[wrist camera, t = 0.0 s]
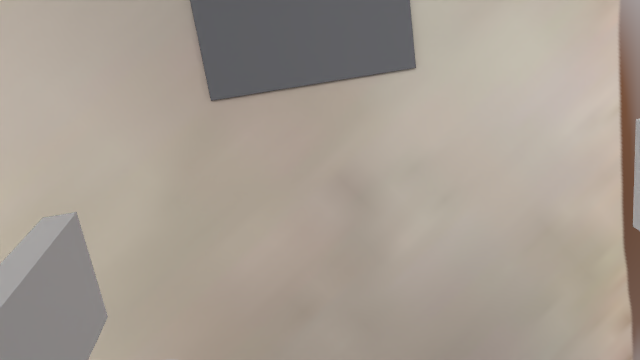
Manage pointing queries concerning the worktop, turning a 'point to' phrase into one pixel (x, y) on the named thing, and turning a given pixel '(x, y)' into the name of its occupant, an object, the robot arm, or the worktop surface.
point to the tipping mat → (299, 42)
